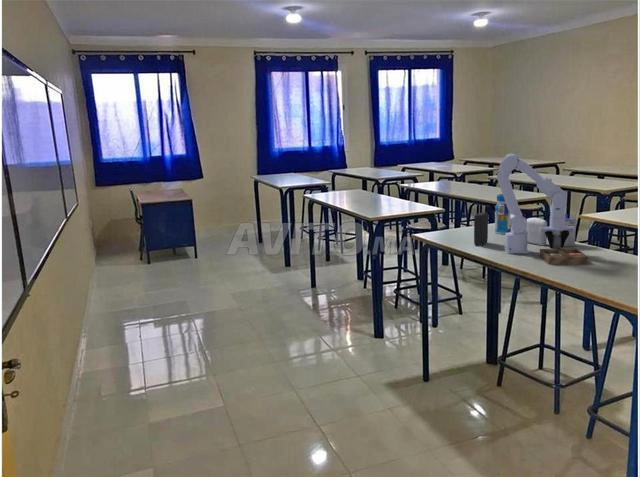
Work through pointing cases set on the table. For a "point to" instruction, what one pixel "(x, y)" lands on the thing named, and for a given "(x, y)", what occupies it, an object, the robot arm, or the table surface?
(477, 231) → the black upright block
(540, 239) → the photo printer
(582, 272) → the table surface
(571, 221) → the ink cartridge box
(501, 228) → the beverage bottle
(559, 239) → the plug
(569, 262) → the socket board
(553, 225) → the robot arm
